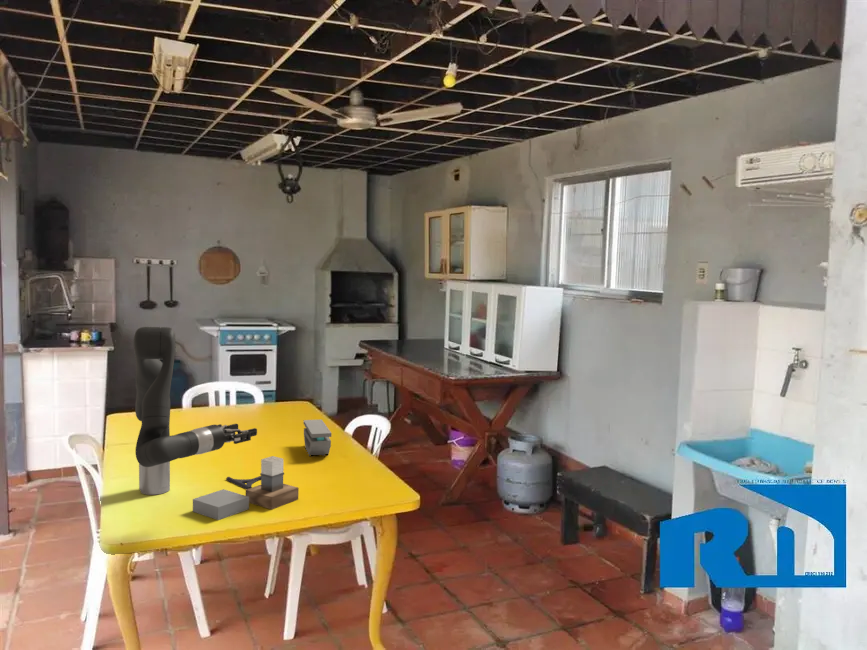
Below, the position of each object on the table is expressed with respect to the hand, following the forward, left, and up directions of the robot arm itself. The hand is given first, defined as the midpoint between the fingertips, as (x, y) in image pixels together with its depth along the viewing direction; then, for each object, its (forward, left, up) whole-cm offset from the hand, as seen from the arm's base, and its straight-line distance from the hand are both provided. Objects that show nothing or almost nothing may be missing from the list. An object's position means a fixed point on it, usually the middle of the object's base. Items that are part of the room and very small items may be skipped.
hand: (246, 429), depth 213 cm
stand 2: (0, +11, -26) cm, 28 cm away
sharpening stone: (-29, +64, -26) cm, 75 cm away
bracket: (-20, +22, -27) cm, 40 cm away
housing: (0, +11, -22) cm, 25 cm away
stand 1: (-6, -5, -26) cm, 27 cm away
